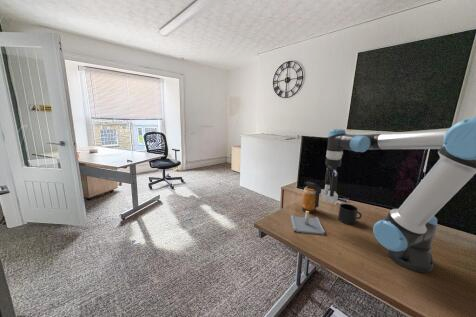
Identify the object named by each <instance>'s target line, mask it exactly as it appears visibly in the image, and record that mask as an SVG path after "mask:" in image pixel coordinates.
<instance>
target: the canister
mask: <svg viewBox="0 0 476 317" xmlns="http://www.w3.org/2000/svg"><path fill="white" fill-rule="evenodd" d="M304 184H305V185H306V186H305V187H304V189H303V191H302V192H303V193H302V198H301V199H302V200H301V210H302V211H304V212H306V211H309V213H315V212H316V208H318V207H320V206H319V201H320V195H321V189H322V187H321V186H320V185H319V184H318V183H317V182H312V181H306V182H304Z"/></svg>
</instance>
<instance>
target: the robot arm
mask: <svg viewBox="0 0 476 317" xmlns="http://www.w3.org/2000/svg"><path fill="white" fill-rule="evenodd" d="M327 138H328V139H327V148H326V155H325V157H326V158H325V162H324V164H325V166H326V169H325V170H326V172H325V177H324V183H325V185H324V190H329V193H328V201H327V202H330V203H334V202H333V200H334V193H335V192H337V190H338V188H337V187H338V179H339V172H338V170H337V168H340V167H342V166H341V165H342V157H343V155H344V150H346V151H347V150H348V151H352V152H355V153H356V152H357V153H358V152H359V153H365V152H366V151H367V150H438V151H437V154H438V155H439V159H438V160H437V162H436V163H434V165H433V166H432V167H431V168H430V170H429V171H428V172H427V173H426V175H425V176H424V177H423V178H422V180H421V181H420V182H419V183H418V185H417V186H416V187H415V188H414V189H413V191H412V192H411V193H410V194H409V195H408V197H407V198H406V199H405V200H404V201H403V203H402V204H401V205H400V206H399V207H398V208H392V209H391V210H389V212H388V213H387V215H386V216H385V217H384V218H383V219H380V220H378V221H377V222H375V223H374V224H373V226H372V227H373V228H372V232H373V234H374V238H375V239H376V240H377V242H378V243H379V244H380V245H381V246H382V247H383V248H385V249H386V250H387V255H388V257H389V259H391V260H392V261H394V262H395V263H396V264H398V265H399V266H401V267H404V268H406V269H409V270H410V271H415V272H419V273H430V272H432V270H433V268H434V260H433V256H432V245H433V241H434V237H435V234H436V229H437V227H438V218H437V217H436V216H435V215H437V213H439V211H440V210H441V209H442V208H443V207H445V205H446V204H447V203H448V202H450V200H451V199H452V198H453V197H454V196H455V195H456V194H457V193H458V192H459V191H460V190H461V189H462V188H463V187H464V186H465V185H466V184H467V183H468V182H469V181H470V180H471V179H472V178H474V175H476V116H474V117H471V118H466V119H464V120H463V119H462V120H461V121H458V122H456V123H455V124H453V125H452V126H450V127H448V128H438V129H437V128H435V129H424V130H411V131H410V130H409V131H399V132H398V131H397V132H385V133H373V134H370V133H369V134H348V133H346V130H345V129H339V128H332V129H330V130H329V133H328V136H327Z"/></svg>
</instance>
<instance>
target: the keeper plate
mask: <svg viewBox="0 0 476 317" xmlns="http://www.w3.org/2000/svg"><path fill="white" fill-rule="evenodd" d="M290 220H291V225H293V226H292V230H294V231H296V232H295V233H299V232H301V234H312V235H321V236H325V234H326V231H325V229H324V228H323V226H322V224H321V221H320V219H319V217H318V216H315V217H310V212H309V211H305V214H304V216H294V215H293V214H290ZM294 231H293V232H294Z"/></svg>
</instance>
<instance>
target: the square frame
mask: <svg viewBox="0 0 476 317" xmlns="http://www.w3.org/2000/svg"><path fill="white" fill-rule="evenodd" d="M328 193H329V190H325V188H323V189H322V188H321V190H320V195H319V197H321V199H322V201H323V202H329V201H328ZM338 197H339V195H338V193H337V191H335V193H334V200H333V202H332V203H338V199H339V198H338Z"/></svg>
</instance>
